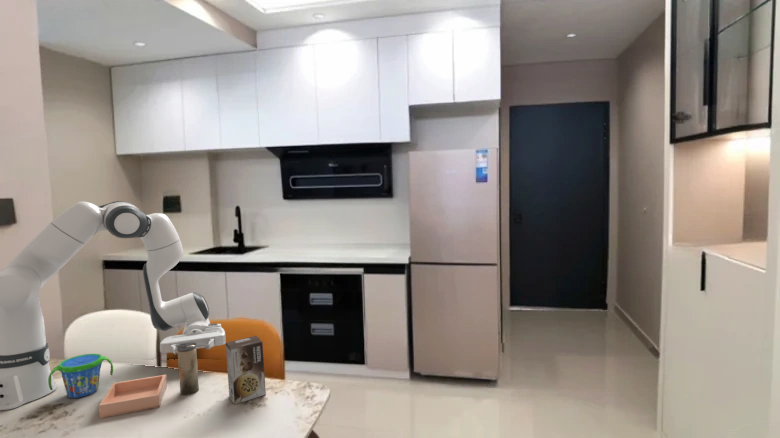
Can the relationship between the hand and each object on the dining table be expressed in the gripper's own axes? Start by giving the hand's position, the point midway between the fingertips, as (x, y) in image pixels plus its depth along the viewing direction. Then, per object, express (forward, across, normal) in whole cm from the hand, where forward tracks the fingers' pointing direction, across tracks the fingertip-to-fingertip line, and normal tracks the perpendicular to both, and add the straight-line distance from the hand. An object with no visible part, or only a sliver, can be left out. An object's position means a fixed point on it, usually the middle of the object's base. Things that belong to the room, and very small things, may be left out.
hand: (192, 349), depth 135 cm
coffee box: (+22, +16, +9) cm, 29 cm away
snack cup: (0, -30, +8) cm, 31 cm away
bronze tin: (+12, 0, +8) cm, 15 cm away
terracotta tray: (+12, -14, +8) cm, 20 cm away
